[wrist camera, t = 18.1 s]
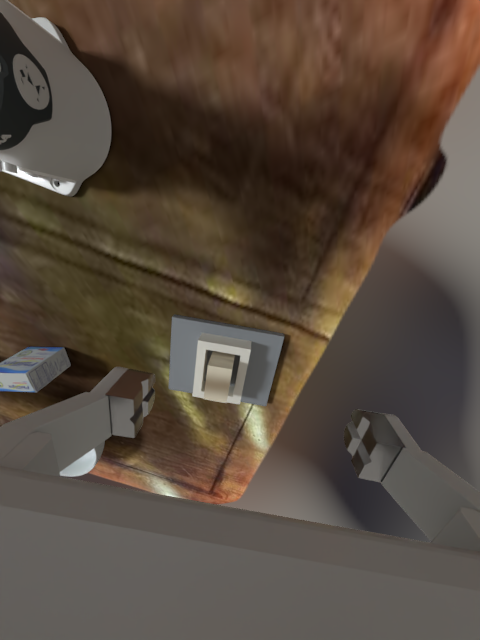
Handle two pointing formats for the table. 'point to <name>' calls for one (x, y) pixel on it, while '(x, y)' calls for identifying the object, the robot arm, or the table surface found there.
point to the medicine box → (32, 368)
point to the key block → (218, 376)
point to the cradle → (207, 336)
